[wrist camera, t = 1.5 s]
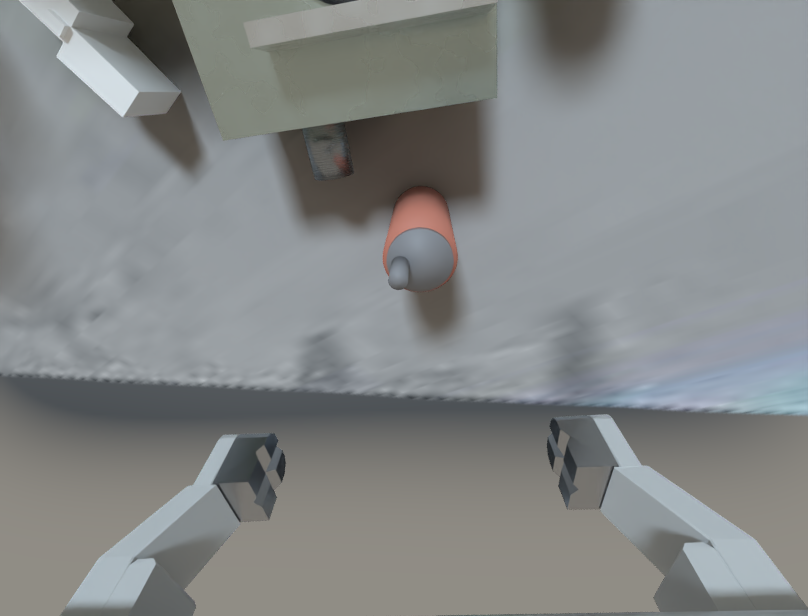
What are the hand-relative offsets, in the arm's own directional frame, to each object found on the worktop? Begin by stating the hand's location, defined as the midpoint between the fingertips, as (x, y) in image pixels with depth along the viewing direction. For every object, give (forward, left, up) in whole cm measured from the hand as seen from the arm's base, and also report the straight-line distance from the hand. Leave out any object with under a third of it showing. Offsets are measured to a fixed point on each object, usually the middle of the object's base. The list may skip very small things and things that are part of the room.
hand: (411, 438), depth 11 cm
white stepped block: (+21, -15, -26) cm, 37 cm away
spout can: (0, +1, -25) cm, 25 cm away
